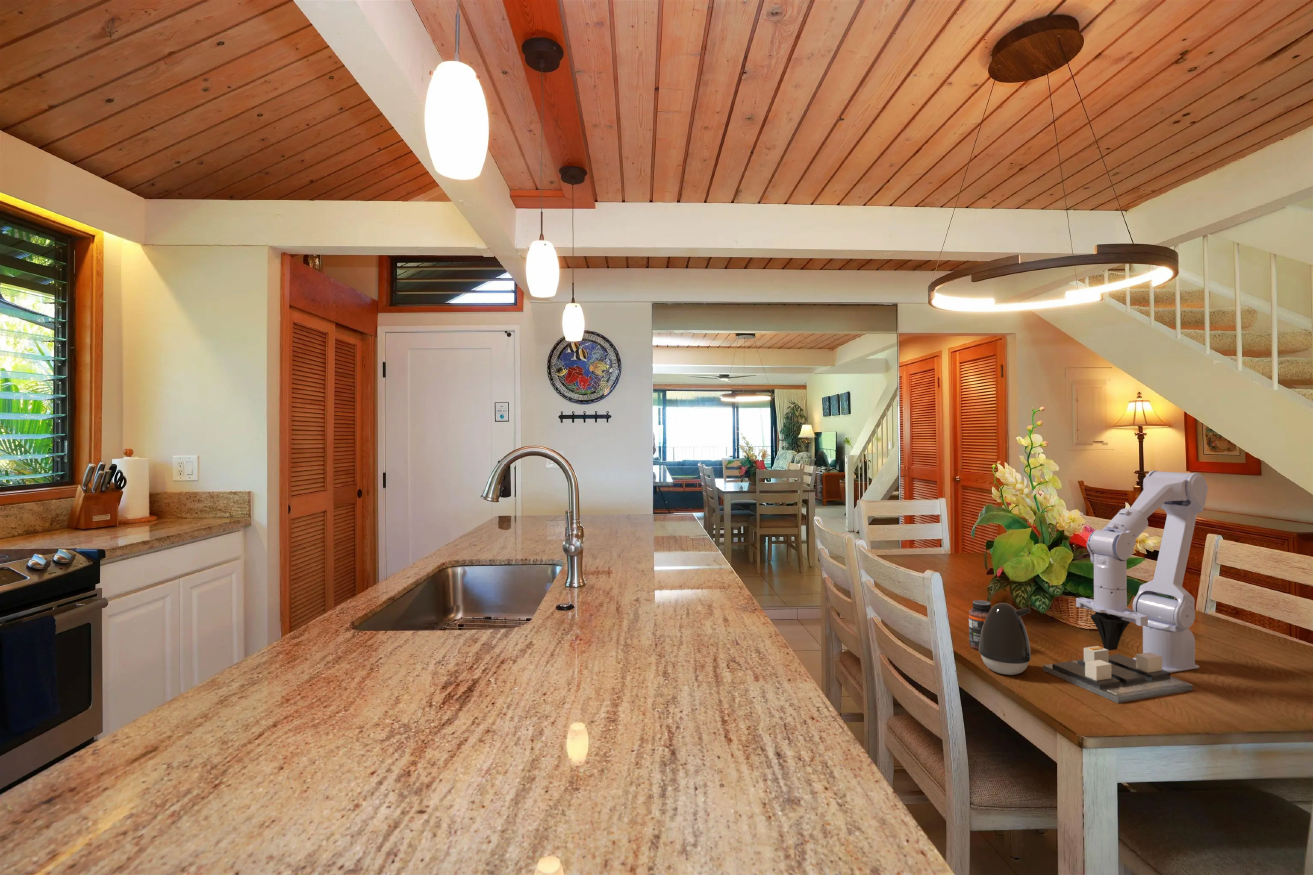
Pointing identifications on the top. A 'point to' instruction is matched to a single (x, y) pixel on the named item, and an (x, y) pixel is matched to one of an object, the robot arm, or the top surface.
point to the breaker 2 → (1149, 662)
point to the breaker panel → (1120, 680)
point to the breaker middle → (1095, 654)
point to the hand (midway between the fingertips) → (1110, 648)
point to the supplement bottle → (977, 621)
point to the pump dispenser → (1005, 640)
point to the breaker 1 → (1098, 670)
